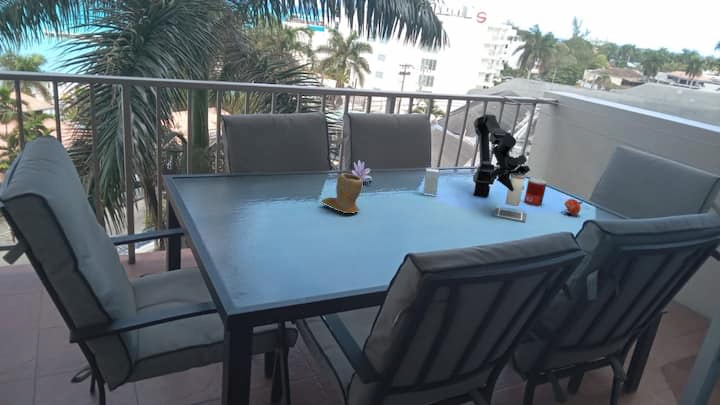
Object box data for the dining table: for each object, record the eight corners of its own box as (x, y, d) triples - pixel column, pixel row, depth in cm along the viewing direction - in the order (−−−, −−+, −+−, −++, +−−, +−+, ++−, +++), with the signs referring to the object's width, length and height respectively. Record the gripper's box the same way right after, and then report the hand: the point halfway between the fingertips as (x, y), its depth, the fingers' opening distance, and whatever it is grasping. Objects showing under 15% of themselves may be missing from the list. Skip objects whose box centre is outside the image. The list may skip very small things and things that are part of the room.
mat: (493, 216, 204) (493, 215, 203) (495, 208, 214) (495, 207, 213) (525, 222, 200) (525, 221, 200) (526, 214, 210) (526, 213, 209)
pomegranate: (564, 220, 213) (586, 211, 209) (556, 206, 213) (578, 196, 209) (564, 217, 220) (586, 208, 215) (556, 203, 220) (578, 194, 216)
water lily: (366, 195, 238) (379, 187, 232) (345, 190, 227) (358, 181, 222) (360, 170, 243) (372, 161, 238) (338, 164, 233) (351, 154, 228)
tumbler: (502, 203, 205) (508, 173, 200) (509, 200, 209) (514, 171, 205) (515, 207, 201) (521, 177, 197) (521, 204, 205) (528, 175, 201)
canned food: (542, 206, 222) (547, 184, 219) (525, 204, 224) (529, 181, 220) (540, 201, 229) (545, 179, 226) (523, 199, 231) (527, 177, 227)
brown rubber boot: (366, 212, 195) (369, 177, 190) (345, 218, 187) (348, 181, 182) (340, 201, 205) (343, 167, 200) (319, 206, 197) (321, 171, 192)
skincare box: (435, 194, 227) (439, 169, 223) (436, 196, 223) (439, 172, 219) (422, 192, 227) (426, 168, 223) (423, 195, 223) (426, 170, 219)
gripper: (499, 149, 196) (515, 183, 191) (531, 147, 205) (546, 179, 200) (482, 162, 205) (496, 195, 200) (513, 160, 214) (527, 191, 209)
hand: (517, 190), depth 202 cm, fingers closed on tumbler, 6 cm apart
